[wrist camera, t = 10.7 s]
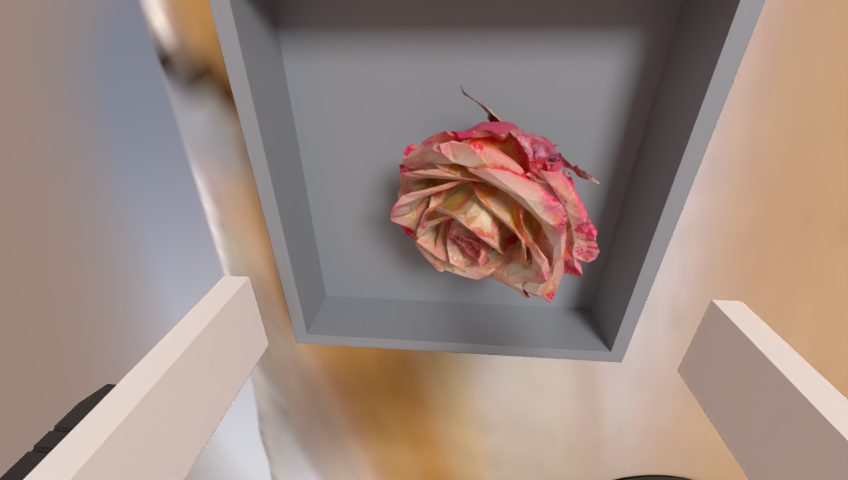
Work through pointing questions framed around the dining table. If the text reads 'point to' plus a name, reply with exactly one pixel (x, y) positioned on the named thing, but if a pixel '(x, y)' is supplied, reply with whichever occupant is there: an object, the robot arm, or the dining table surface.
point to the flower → (495, 206)
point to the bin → (452, 111)
